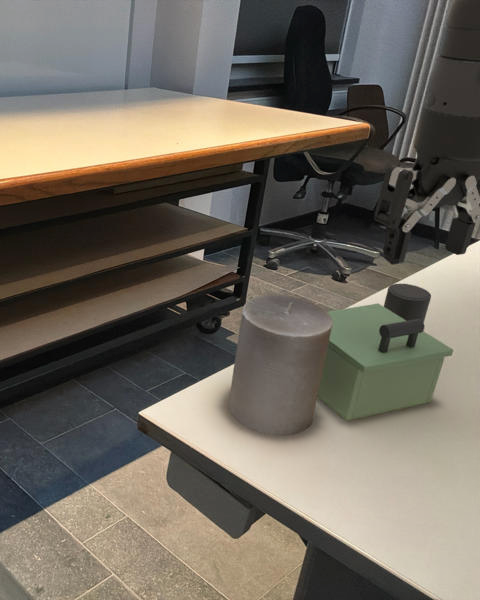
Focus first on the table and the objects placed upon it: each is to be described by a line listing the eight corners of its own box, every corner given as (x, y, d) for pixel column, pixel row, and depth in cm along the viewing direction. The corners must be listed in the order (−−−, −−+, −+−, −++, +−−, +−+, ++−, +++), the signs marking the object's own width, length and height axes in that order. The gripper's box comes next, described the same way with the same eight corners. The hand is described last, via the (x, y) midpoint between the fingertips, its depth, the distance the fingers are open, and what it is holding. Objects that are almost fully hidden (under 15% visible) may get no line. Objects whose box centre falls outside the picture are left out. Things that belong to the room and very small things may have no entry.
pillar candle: (283, 387, 85) (303, 280, 79) (328, 434, 77) (355, 318, 70) (212, 398, 83) (227, 288, 76) (251, 447, 75) (272, 329, 68)
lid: (451, 355, 78) (462, 324, 76) (363, 373, 74) (371, 340, 72) (377, 308, 89) (384, 279, 87) (296, 321, 85) (301, 291, 83)
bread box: (429, 407, 82) (446, 352, 79) (344, 426, 79) (358, 369, 75) (364, 359, 92) (376, 308, 89) (286, 374, 88) (295, 322, 85)
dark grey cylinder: (396, 334, 99) (410, 281, 95) (424, 352, 94) (440, 297, 91) (366, 339, 97) (379, 285, 93) (393, 358, 93) (408, 302, 89)
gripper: (437, 117, 61) (397, 278, 69) (552, 109, 66) (502, 262, 73) (379, 102, 68) (348, 251, 75) (487, 95, 72) (448, 237, 79)
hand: (424, 256), depth 74 cm, fingers open, 8 cm apart
